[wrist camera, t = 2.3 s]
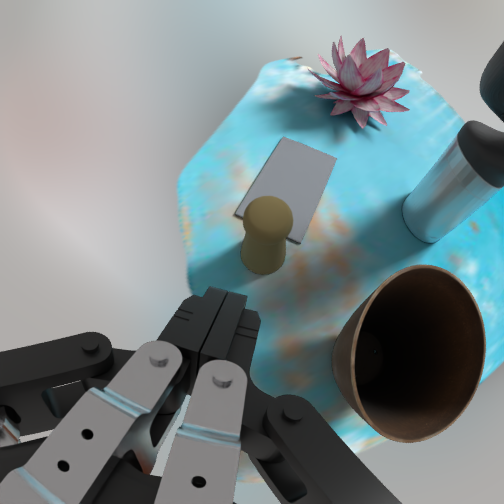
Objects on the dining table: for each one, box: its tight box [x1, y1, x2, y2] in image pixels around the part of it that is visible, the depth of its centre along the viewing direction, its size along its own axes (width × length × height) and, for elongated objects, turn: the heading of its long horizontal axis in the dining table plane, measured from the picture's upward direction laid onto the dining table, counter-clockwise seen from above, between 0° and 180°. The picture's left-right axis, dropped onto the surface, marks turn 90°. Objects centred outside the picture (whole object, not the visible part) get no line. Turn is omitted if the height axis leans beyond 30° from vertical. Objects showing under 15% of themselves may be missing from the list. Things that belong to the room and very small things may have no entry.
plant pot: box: [332, 265, 486, 443], centre depth 24 cm, size 15×15×16 cm
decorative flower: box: [307, 36, 410, 129], centre depth 42 cm, size 21×21×15 cm
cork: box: [241, 196, 294, 275], centre depth 31 cm, size 6×6×11 cm
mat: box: [235, 137, 337, 244], centre depth 41 cm, size 18×10×1 cm, turn 154°
